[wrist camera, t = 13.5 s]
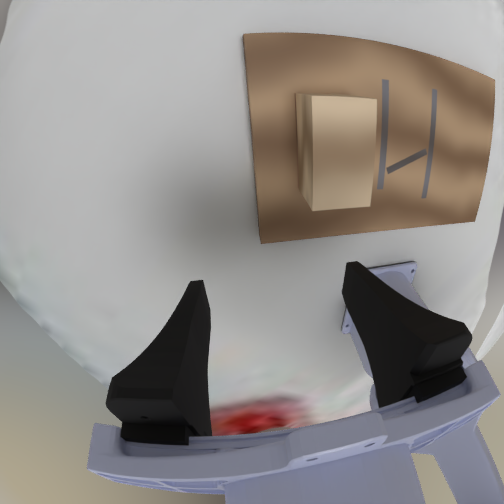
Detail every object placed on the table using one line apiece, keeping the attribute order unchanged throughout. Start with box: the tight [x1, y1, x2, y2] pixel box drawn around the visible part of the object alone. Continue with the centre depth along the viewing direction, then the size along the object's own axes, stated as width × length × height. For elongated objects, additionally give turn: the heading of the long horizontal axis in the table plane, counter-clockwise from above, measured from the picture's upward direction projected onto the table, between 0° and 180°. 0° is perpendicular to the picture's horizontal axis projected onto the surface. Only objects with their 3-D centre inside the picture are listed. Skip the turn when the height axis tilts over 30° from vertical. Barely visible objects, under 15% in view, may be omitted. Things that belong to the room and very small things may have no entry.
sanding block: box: [295, 93, 377, 211], centre depth 17 cm, size 7×4×4 cm, turn 5°
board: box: [243, 33, 495, 244], centre depth 19 cm, size 16×24×1 cm, turn 95°
